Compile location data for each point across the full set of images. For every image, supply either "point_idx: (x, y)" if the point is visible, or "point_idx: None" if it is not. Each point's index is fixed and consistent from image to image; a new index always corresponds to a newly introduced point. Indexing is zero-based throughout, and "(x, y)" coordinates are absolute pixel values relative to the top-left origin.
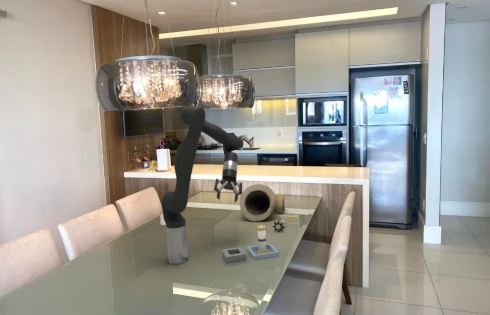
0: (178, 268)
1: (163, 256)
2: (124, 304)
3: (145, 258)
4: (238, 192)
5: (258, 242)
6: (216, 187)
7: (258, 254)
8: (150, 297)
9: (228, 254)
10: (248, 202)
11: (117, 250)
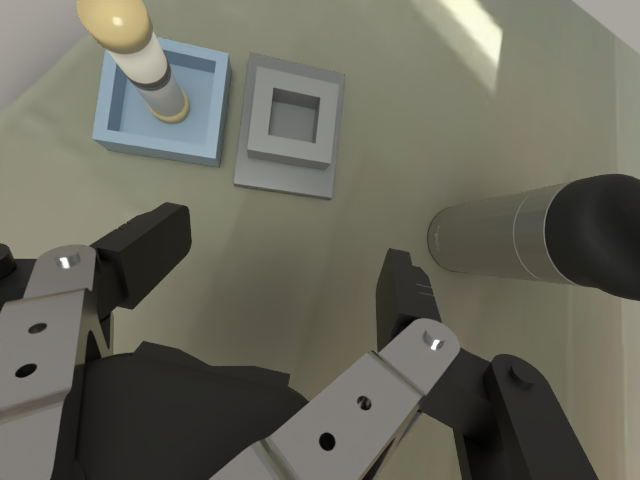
0: (466, 174)
1: (492, 296)
2: (597, 47)
3: (540, 305)
4: (43, 257)
5: (173, 75)
6: (513, 389)
7: (205, 55)
8: (549, 44)
9: (323, 102)
10: None
11: (607, 419)
